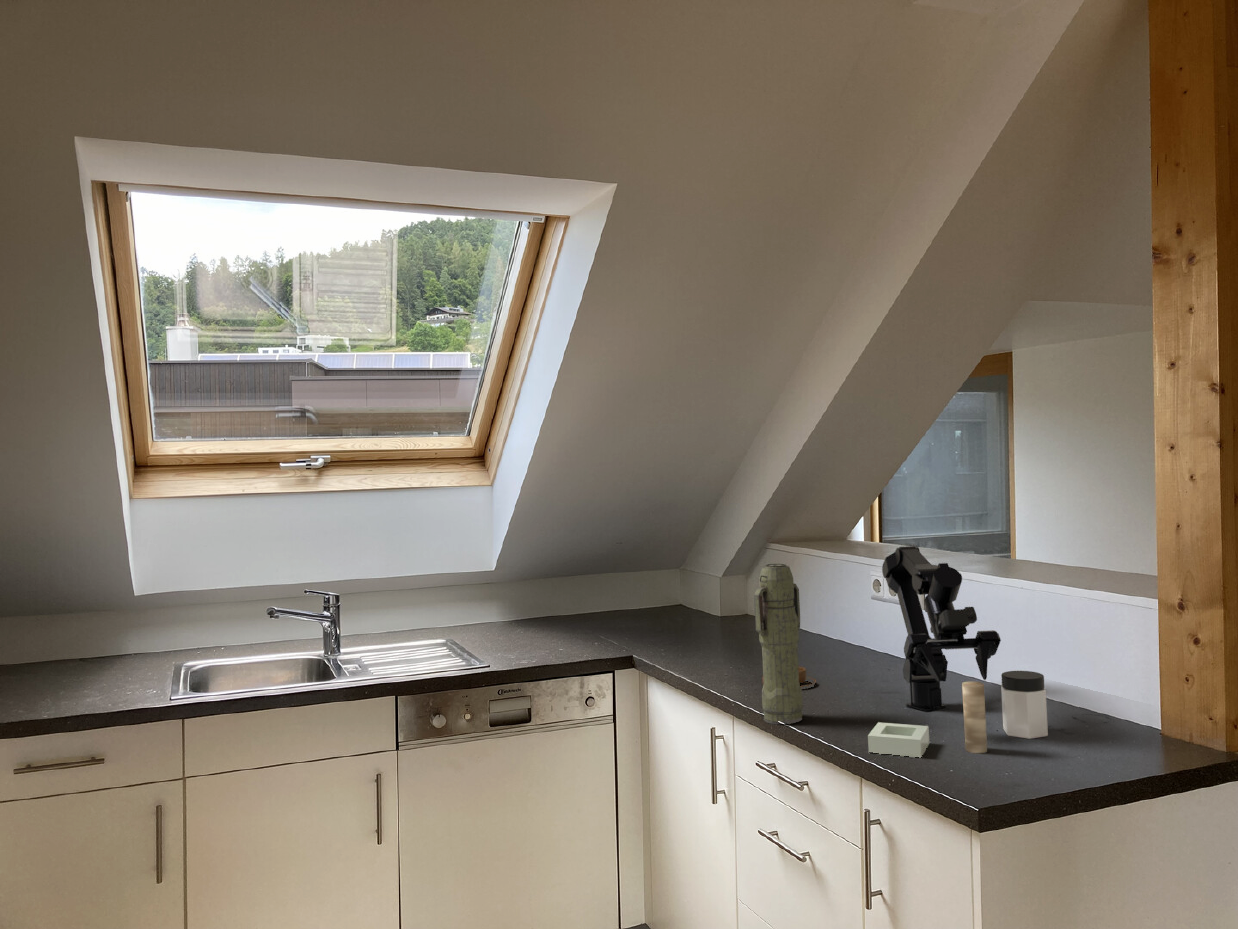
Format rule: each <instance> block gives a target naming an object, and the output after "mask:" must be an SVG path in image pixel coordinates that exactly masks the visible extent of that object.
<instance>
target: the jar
mask: <svg viewBox="0 0 1238 929" xmlns="http://www.w3.org/2000/svg"><path fill="white" fill-rule="evenodd" d="M1000 676H1001V685H1000V687H1001V688H1000V690H1001V707H1002V708H1001V709H1002V724H1003V726H1002V728H1003V730H1004V733H1005V734H1006V735H1007V736H1009V737H1016V738H1022V739H1029V740H1031V739H1037V738H1044V737H1048V736H1049V731H1048V730H1049V729H1048V728H1049V727H1048V709H1047V690H1046V689H1045V676H1044V674H1043V673H1040V672H1037V671H1031V670H1010V671H1004V672H1002V673H1001V675H1000Z"/></svg>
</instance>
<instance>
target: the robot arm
mask: <svg viewBox="0 0 1238 929" xmlns="http://www.w3.org/2000/svg"><path fill="white" fill-rule="evenodd" d="M881 572H882V576H883V578H884V579H885V581H886V584H887V586H888V588H889V589H890V590H892V591H893V592H894V593H895V594H896V595H897V598H898V602H899V607H900V609H901V610H900V611H901V613H902V616H903V621H904V626H905V628H906V633H907V636H906V639H905V642H904V647H903V653H904V657H905V660H904V664H903V668H902V675H903V679H904V680H905V681H906V682H907V683H909V690H910V702H908V703H907V702H906V703H905V706H906V707H909V708H912V709H916V710H920V711H924V712H929V711H933V710H939V709H943V708H946V707H947V704H945V703H942V702H943V701H942V699H943V698H942V697H943V696H942V688H941V682H946V681H947V675H948V664H949V661H948V659H947V658H946V655H945V654H944V652H943V650H947V651H948V650H965V649H966V650H967V649H968V650H969V649H971V650H972V649H973V651H974V654H975V655H976V656H975V662H976V665H977V667H978V670H979V672H980V675H981V678H982V679H983V681H986V680H987V677H988V662H989V661H988V660H990V659H991V657H993V656H995V655H996V654H997V652H998V648H999V646H1000V643H1001V641H1002V640H1001V636H1000V634H999V633H998V632H997V630H978V631H977V632H976V635H975V638H974V637H973V638H971V637H969V638H965V637H964V635H967V633H968V630H967V627H968V626H969V625H970V624H971V625H972V624H975V623H976V622H977V621H978V617H977V613H976V610H975V607H974V606H965V607H964V608H962V609H961V608H959V609H955V605H954V603H953V602H955V601H957V598H958V594H959V592H960V588H961V585H962V582H963V576H962V574H961V572H959V571H958V570H957V569H955V568H954V567H952V566H949V563H947V562H944V563H943V562H942V563H941V562H940V563H938V564H937V565H936V564H932V563H930V562H929V560H927V558H926V557H925V556H924V555H923V554H922V553H921V551H920V549H919V547H918V546H915V545H911V546H909V545H908V546H899V547H897V548H896V549H895V551H894V552H892V553H891V554H890V555H888V556H886V557H885V558H884V561H883V563H882V567H881ZM921 595H922V596H923V595H925V598H924V599H923V604H924V611H925V613H926V614H927V618H928V621H929V624H930V630H929V629H928V626H927V622H926V619H925V616H924V612H923V609H922V604H921V601H920V598H919V596H921ZM929 631H930V633H932V634H933V637H934V638H932V637H931V636H930V633H929Z"/></svg>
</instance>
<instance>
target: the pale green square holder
mask: <svg viewBox="0 0 1238 929" xmlns="http://www.w3.org/2000/svg"><path fill="white" fill-rule="evenodd" d="M929 728H930V727H929V725H918V724H906V723H905V724H903V723H893V722H880V721H878V722H877V723H876V725H875V726H874V727H873V728H872V730H871V731H870V732H869V733H868V735H867V744H868V746H867V747H868V753H869V752H873V753H879V754H878V755H881V754H892V755H891V756H893V755H900V756H899V757H904V756H909V757H908V758H915V757H919V758H918V759H922V758H923V756H922V755H924V754H925V752H926V750H927V749H926V748H928V747H929V745H930V731H929V730H930V729H929ZM921 757H922V758H921Z"/></svg>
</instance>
